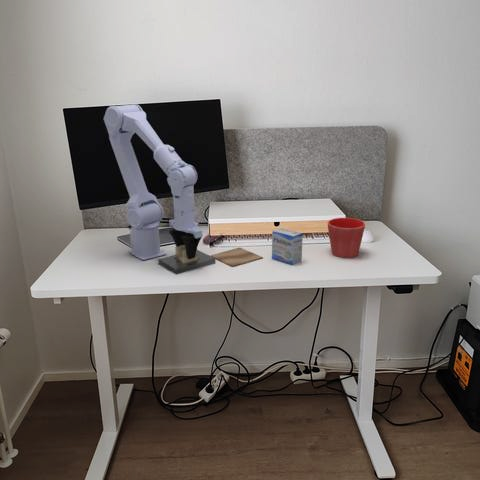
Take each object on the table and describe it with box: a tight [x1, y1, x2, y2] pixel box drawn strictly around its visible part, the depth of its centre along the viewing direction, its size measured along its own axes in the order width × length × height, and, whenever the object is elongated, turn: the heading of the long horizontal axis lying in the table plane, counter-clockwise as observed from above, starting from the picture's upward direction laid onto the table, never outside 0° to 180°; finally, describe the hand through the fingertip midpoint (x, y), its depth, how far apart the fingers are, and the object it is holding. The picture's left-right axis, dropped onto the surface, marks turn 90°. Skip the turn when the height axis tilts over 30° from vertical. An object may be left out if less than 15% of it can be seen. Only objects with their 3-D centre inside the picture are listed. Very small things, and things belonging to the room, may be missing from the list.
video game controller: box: [202, 233, 222, 245], centre depth 165 cm, size 10×5×7 cm, turn 169°
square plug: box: [174, 245, 198, 264], centre depth 145 cm, size 4×4×5 cm
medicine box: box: [271, 228, 304, 266], centre depth 146 cm, size 8×4×9 cm, turn 47°
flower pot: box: [327, 217, 366, 259], centre depth 150 cm, size 11×11×10 cm
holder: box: [157, 249, 217, 275], centre depth 146 cm, size 10×13×2 cm
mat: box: [210, 247, 264, 268], centre depth 150 cm, size 11×11×1 cm
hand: (186, 255), depth 145 cm, fingers closed on square plug, 4 cm apart
